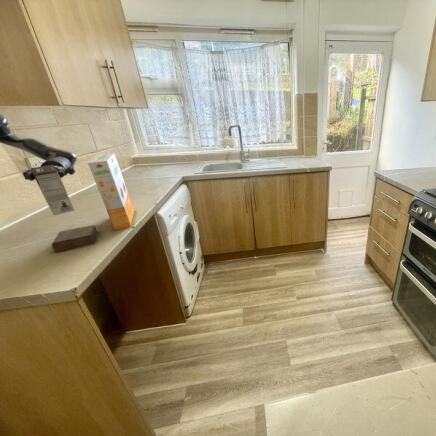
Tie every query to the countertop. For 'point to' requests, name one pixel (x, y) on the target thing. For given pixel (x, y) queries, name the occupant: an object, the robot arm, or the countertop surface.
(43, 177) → the coffee box
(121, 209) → the cereal box
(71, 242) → the block
